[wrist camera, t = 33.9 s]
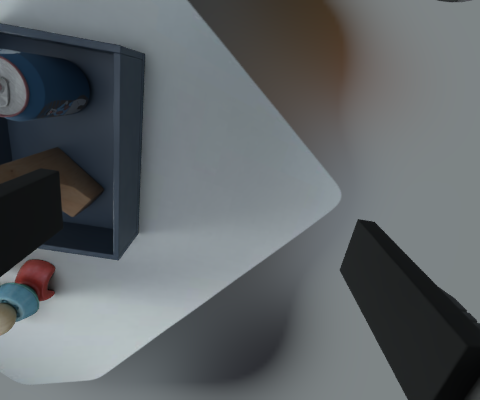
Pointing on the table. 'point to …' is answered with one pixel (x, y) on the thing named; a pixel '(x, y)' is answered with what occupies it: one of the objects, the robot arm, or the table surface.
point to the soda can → (40, 86)
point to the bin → (89, 138)
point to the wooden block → (71, 178)
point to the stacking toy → (24, 293)
